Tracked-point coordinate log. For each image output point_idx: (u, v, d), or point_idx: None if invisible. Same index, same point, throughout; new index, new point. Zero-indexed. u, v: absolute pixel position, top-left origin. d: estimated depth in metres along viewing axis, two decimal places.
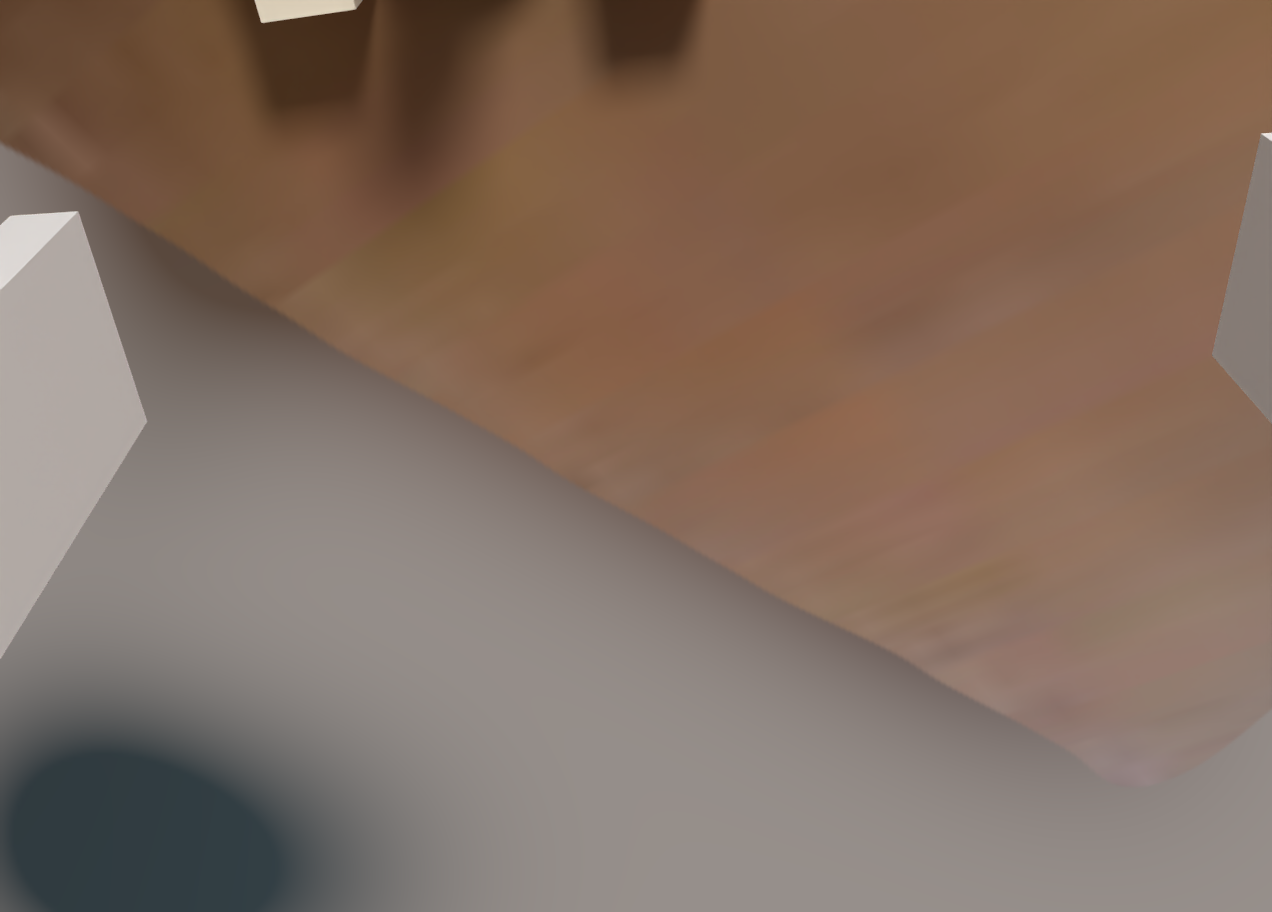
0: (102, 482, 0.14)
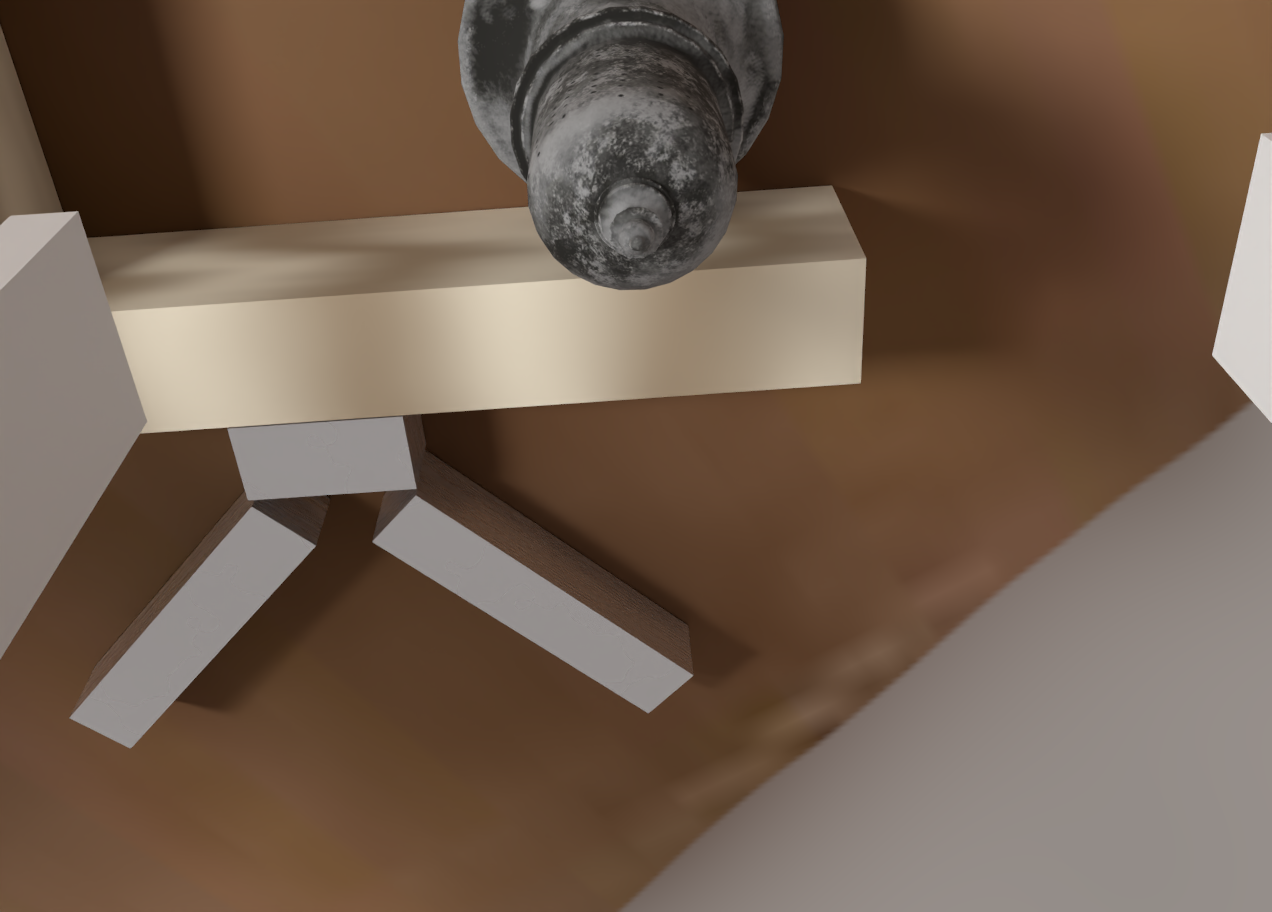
0: (101, 482, 0.14)
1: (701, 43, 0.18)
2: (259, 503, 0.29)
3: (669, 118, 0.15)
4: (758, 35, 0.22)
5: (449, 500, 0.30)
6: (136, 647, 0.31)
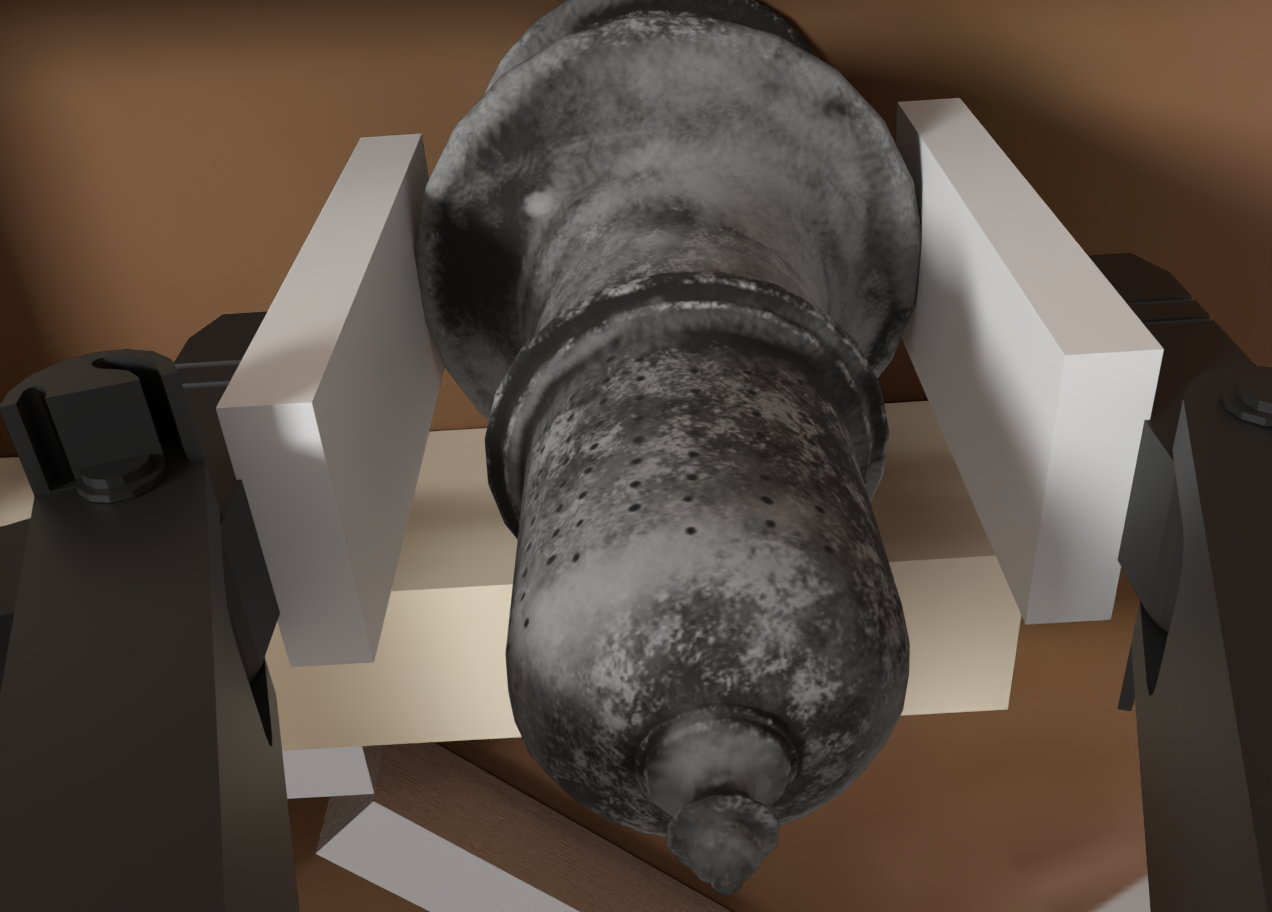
0: (438, 377, 0.15)
1: (822, 334, 0.10)
2: None
3: (789, 582, 0.08)
4: (885, 246, 0.14)
5: (420, 795, 0.22)
6: None
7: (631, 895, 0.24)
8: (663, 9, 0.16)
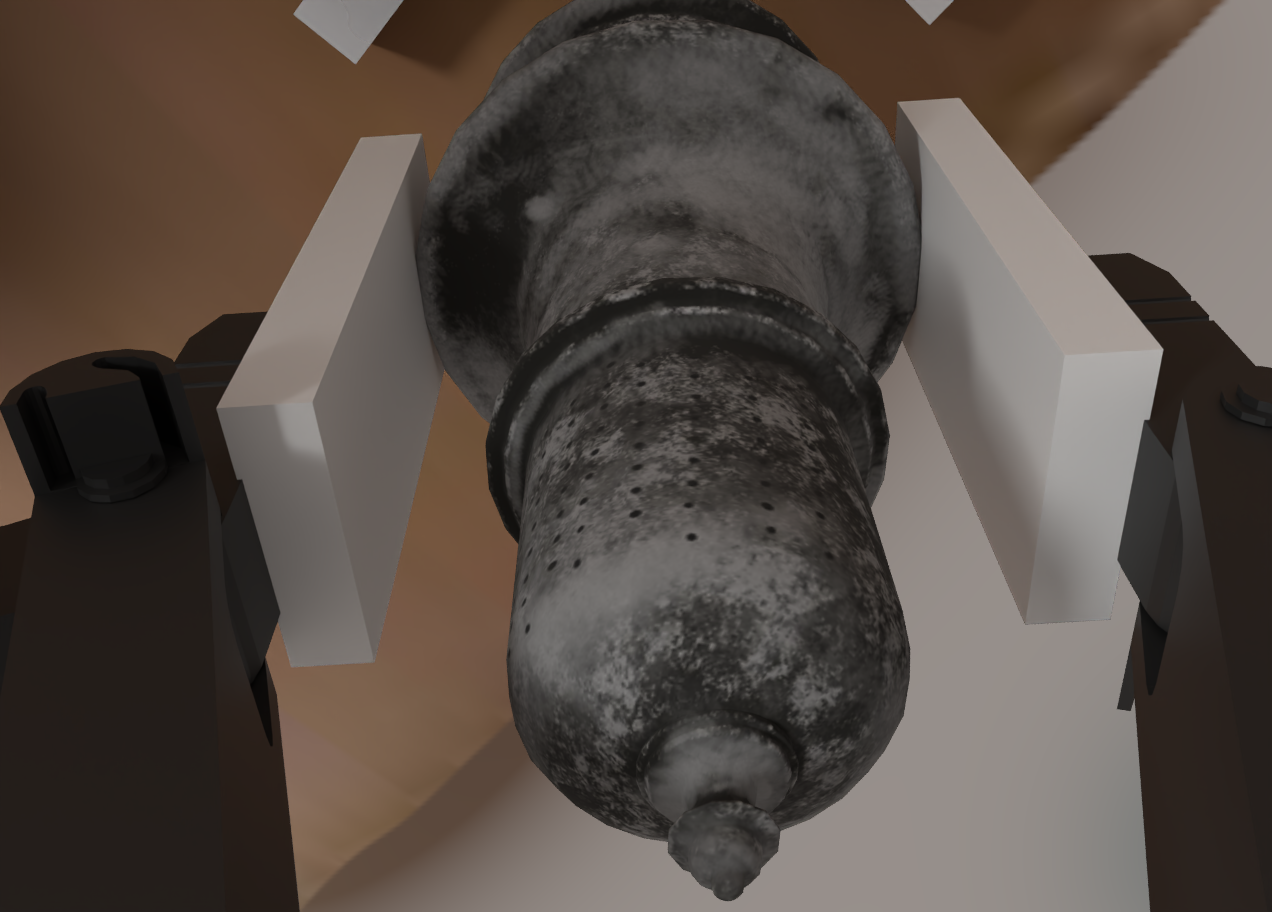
0: (438, 377, 0.15)
1: (822, 339, 0.10)
2: None
3: (789, 588, 0.08)
4: (885, 249, 0.14)
5: None
6: None
7: None
8: (663, 13, 0.16)
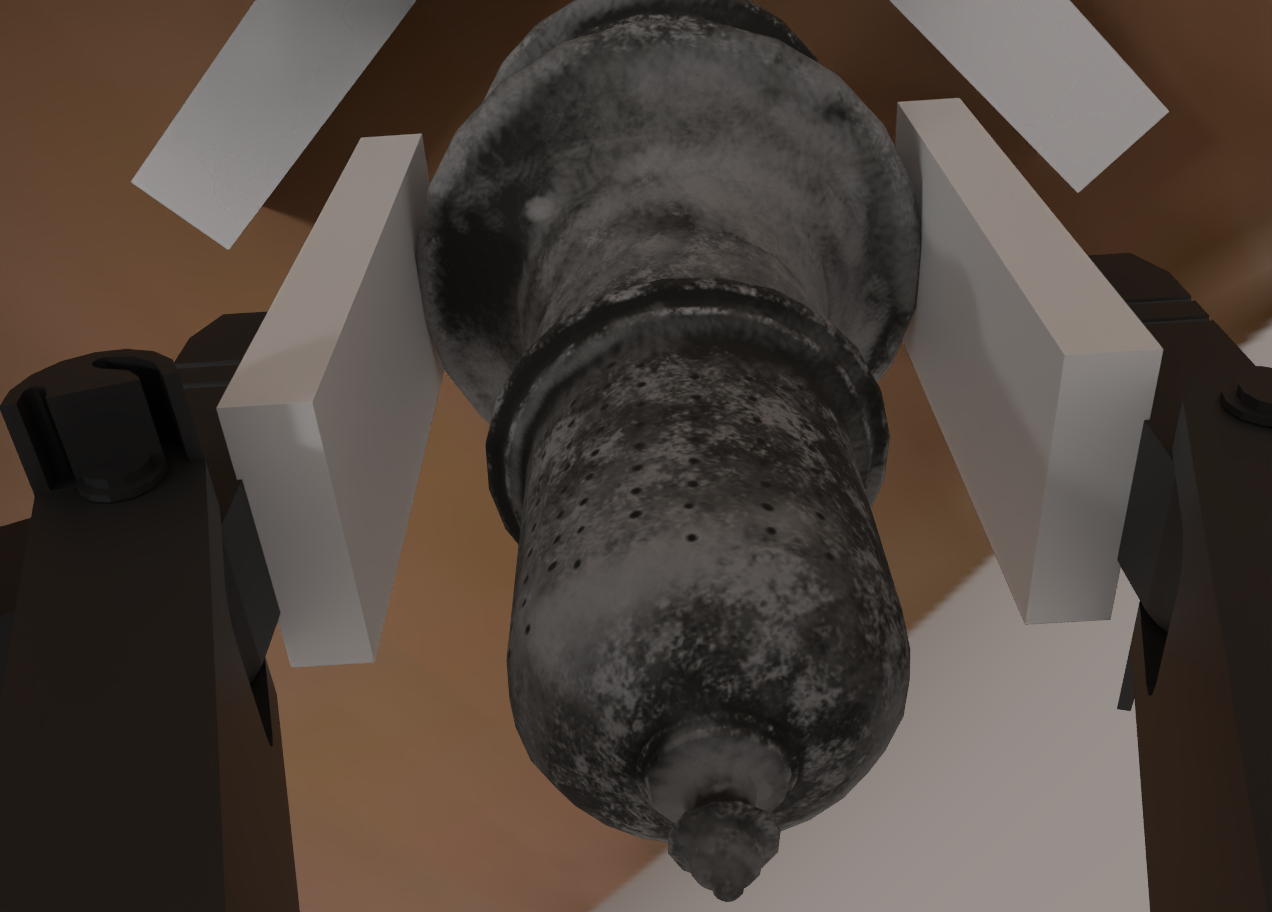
0: (438, 377, 0.15)
1: (822, 339, 0.10)
2: None
3: (788, 588, 0.08)
4: (885, 250, 0.14)
5: None
6: (249, 27, 0.18)
7: None
8: (663, 13, 0.16)
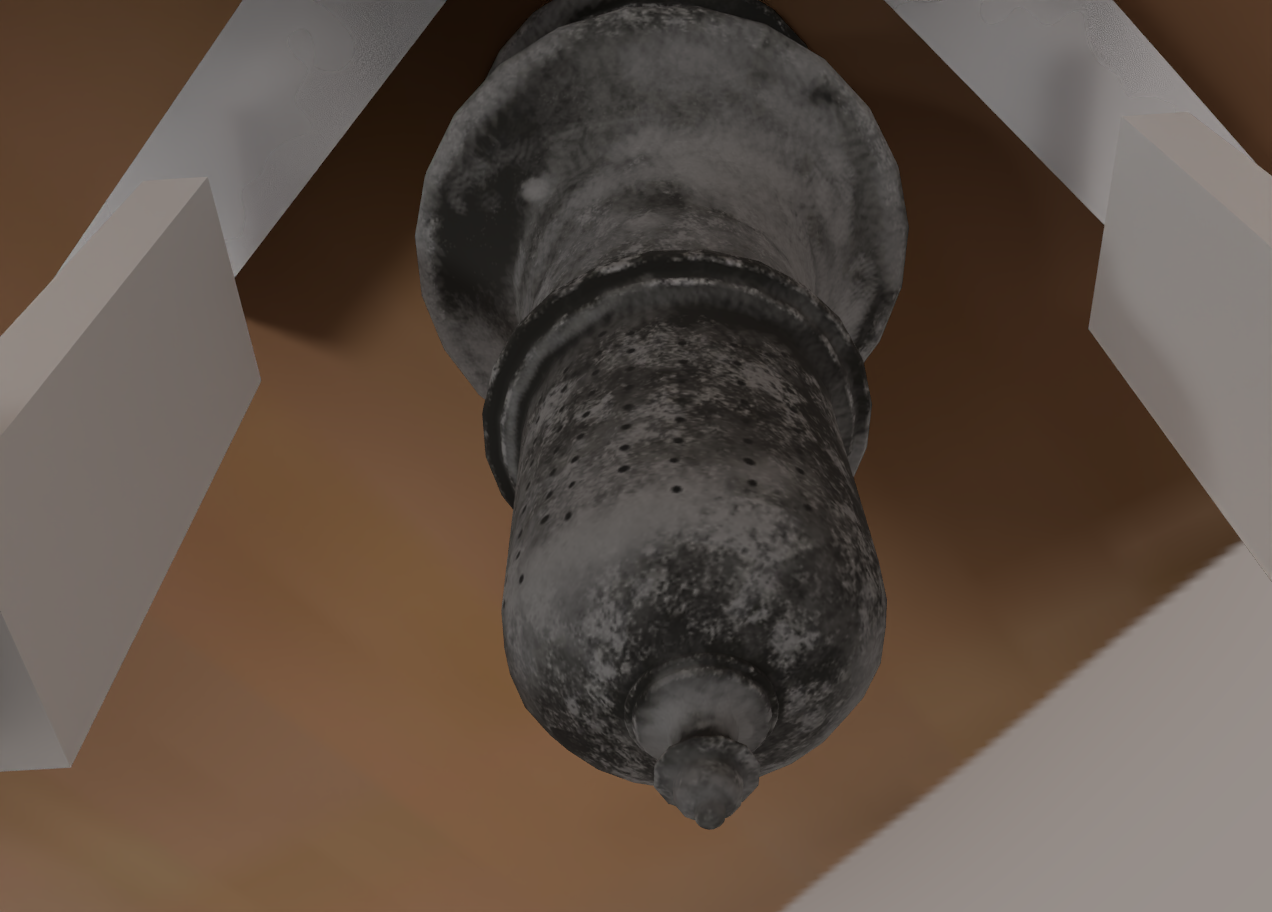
0: (228, 434, 0.14)
1: (806, 309, 0.11)
2: None
3: (769, 536, 0.08)
4: (871, 230, 0.14)
5: None
6: (181, 112, 0.15)
7: None
8: (656, 2, 0.16)
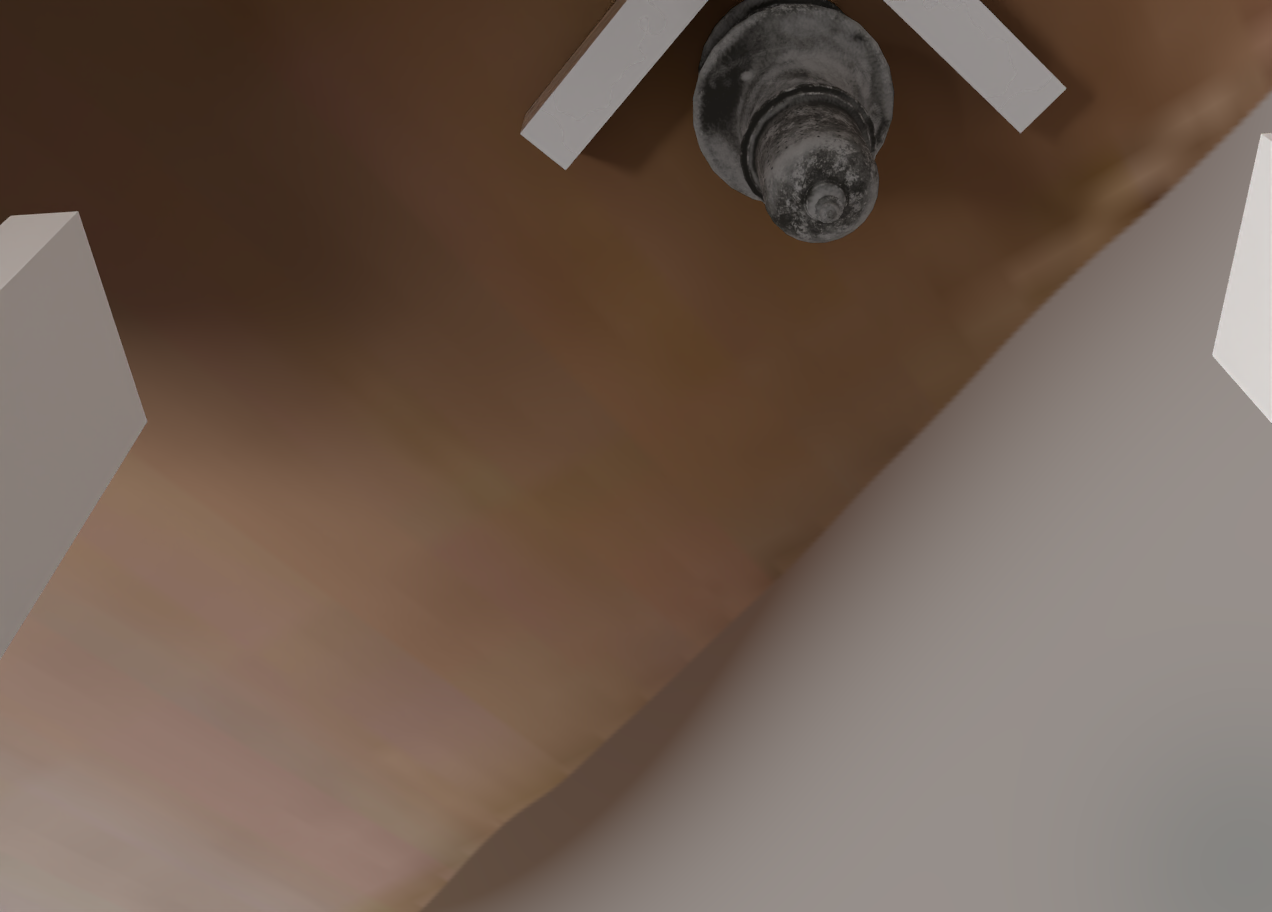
0: (101, 482, 0.14)
1: (853, 103, 0.32)
2: None
3: (844, 148, 0.29)
4: (878, 93, 0.35)
5: None
6: (591, 52, 0.36)
7: None
8: (785, 3, 0.37)
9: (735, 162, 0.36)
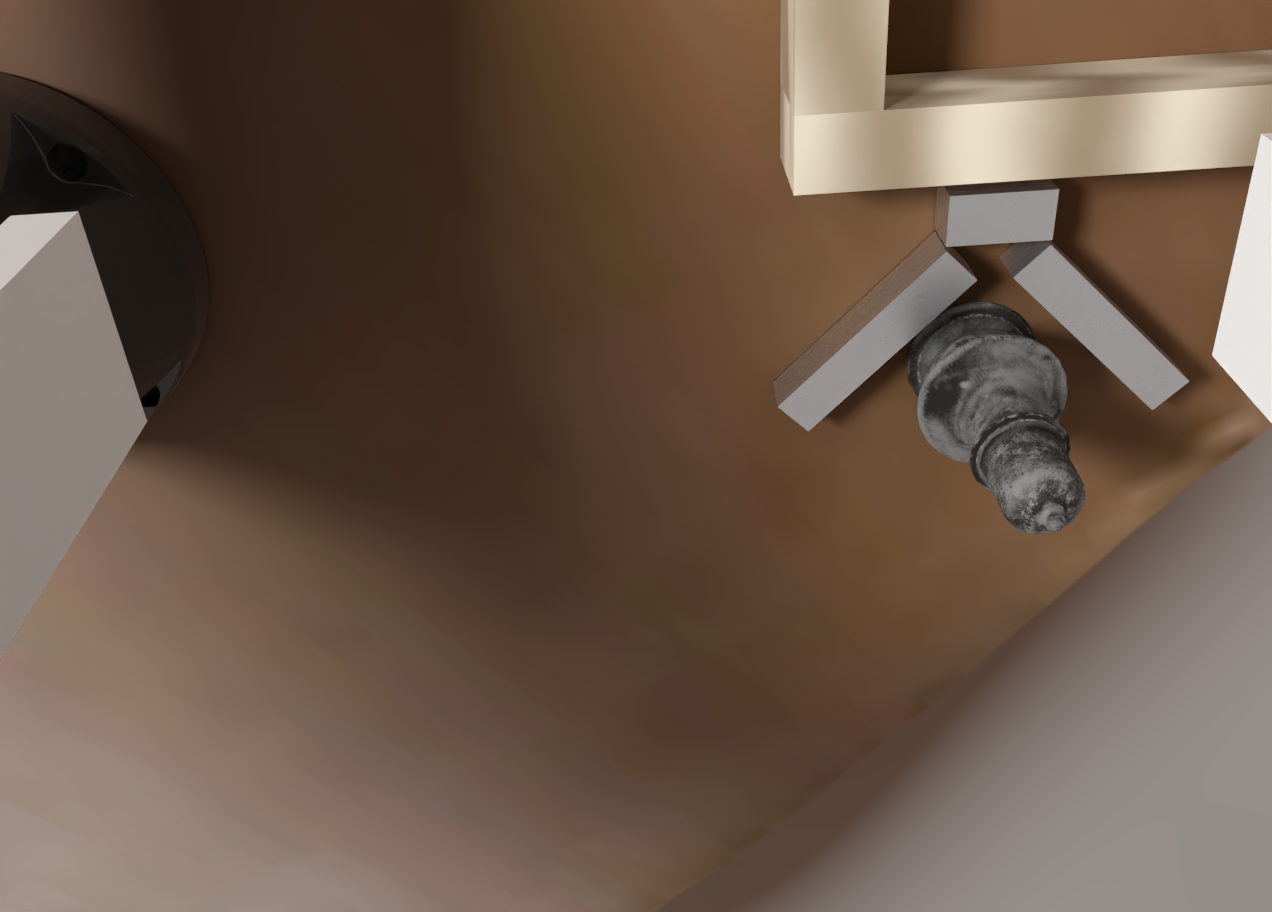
0: (102, 482, 0.14)
1: (1057, 426, 0.44)
2: (947, 250, 0.46)
3: (1065, 477, 0.41)
4: (1057, 393, 0.47)
5: (1060, 252, 0.47)
6: (839, 354, 0.48)
7: (1135, 325, 0.49)
8: (980, 313, 0.49)
9: (946, 438, 0.48)
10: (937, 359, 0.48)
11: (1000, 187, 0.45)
